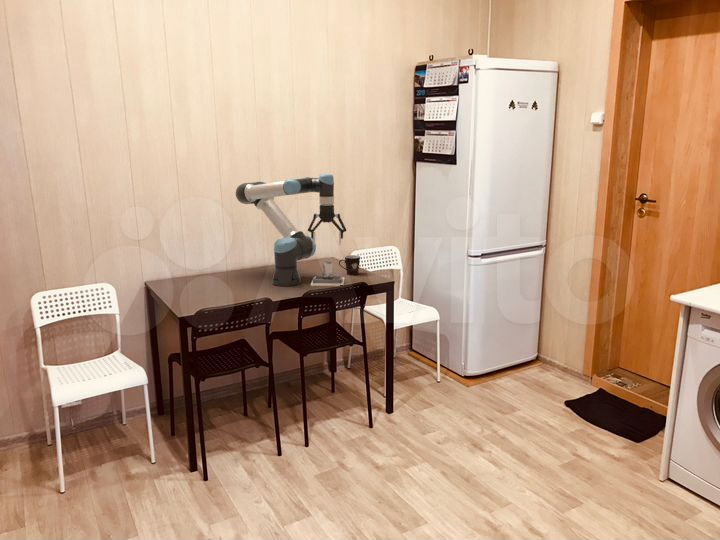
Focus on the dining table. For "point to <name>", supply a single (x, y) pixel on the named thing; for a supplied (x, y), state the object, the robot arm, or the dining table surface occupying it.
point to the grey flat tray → (327, 281)
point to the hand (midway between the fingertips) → (327, 244)
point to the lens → (327, 270)
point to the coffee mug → (351, 264)
